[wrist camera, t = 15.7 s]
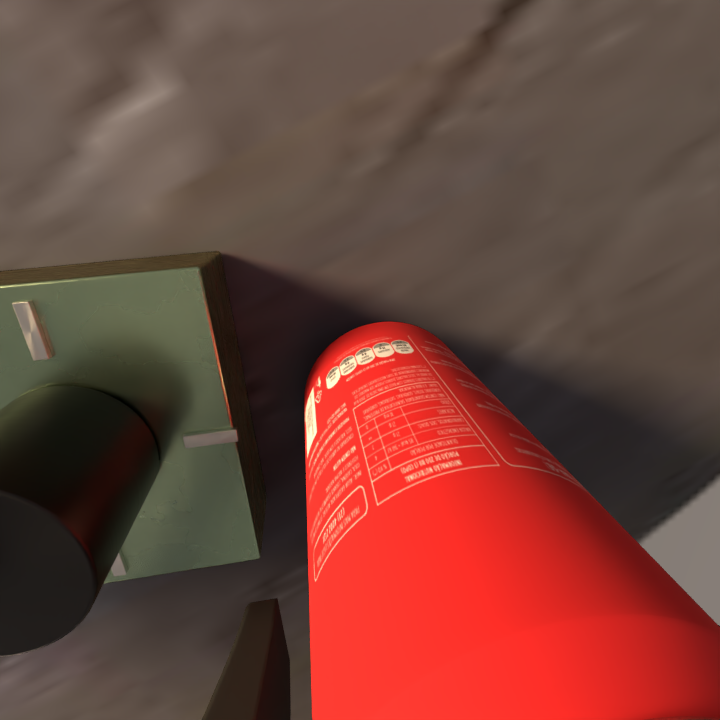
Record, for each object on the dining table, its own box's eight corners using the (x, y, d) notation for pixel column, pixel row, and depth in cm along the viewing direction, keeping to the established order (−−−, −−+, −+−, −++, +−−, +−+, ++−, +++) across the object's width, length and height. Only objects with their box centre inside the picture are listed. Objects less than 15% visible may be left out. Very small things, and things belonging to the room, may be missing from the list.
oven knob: (173, 506, 12) (114, 654, 8) (23, 526, 12) (-115, 692, 8) (140, 376, 11) (49, 481, 7) (-34, 393, 11) (-237, 516, 7)
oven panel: (-21, 539, 15) (-97, 621, 12) (-150, 284, 12) (-293, 313, 9) (269, 496, 16) (263, 563, 13) (224, 249, 13) (202, 266, 10)
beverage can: (450, 303, 15) (947, 662, 3) (451, 438, 16) (773, 954, 5) (293, 321, 14) (276, 807, 3) (313, 458, 16) (348, 1072, 5)
